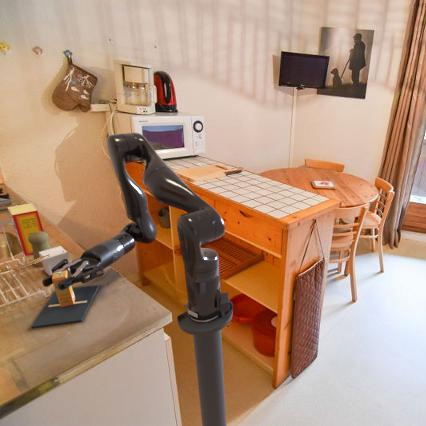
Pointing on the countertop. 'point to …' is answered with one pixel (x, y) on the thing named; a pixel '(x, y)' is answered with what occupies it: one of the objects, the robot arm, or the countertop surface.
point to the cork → (39, 244)
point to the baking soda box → (25, 224)
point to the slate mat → (66, 308)
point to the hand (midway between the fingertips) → (52, 285)
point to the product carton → (53, 258)
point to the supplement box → (66, 295)
